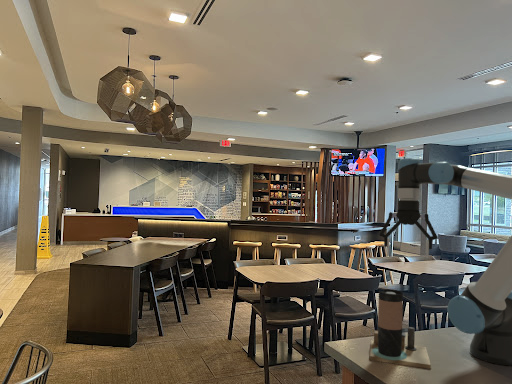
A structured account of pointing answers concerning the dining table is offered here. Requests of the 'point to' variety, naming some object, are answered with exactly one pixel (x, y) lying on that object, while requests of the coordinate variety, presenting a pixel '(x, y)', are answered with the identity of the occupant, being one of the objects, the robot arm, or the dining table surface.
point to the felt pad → (401, 357)
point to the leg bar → (377, 338)
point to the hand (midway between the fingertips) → (407, 256)
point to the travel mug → (390, 322)
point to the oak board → (414, 354)
